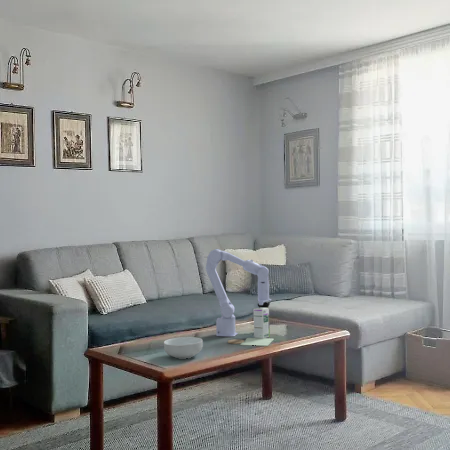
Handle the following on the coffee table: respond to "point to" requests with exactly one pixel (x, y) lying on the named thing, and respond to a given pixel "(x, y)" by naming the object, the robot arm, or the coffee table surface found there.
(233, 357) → the coffee table surface
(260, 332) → the syrup box
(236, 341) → the cork coaster
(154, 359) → the coffee table surface
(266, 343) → the mat
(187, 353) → the cereal bowl
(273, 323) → the coffee table surface
